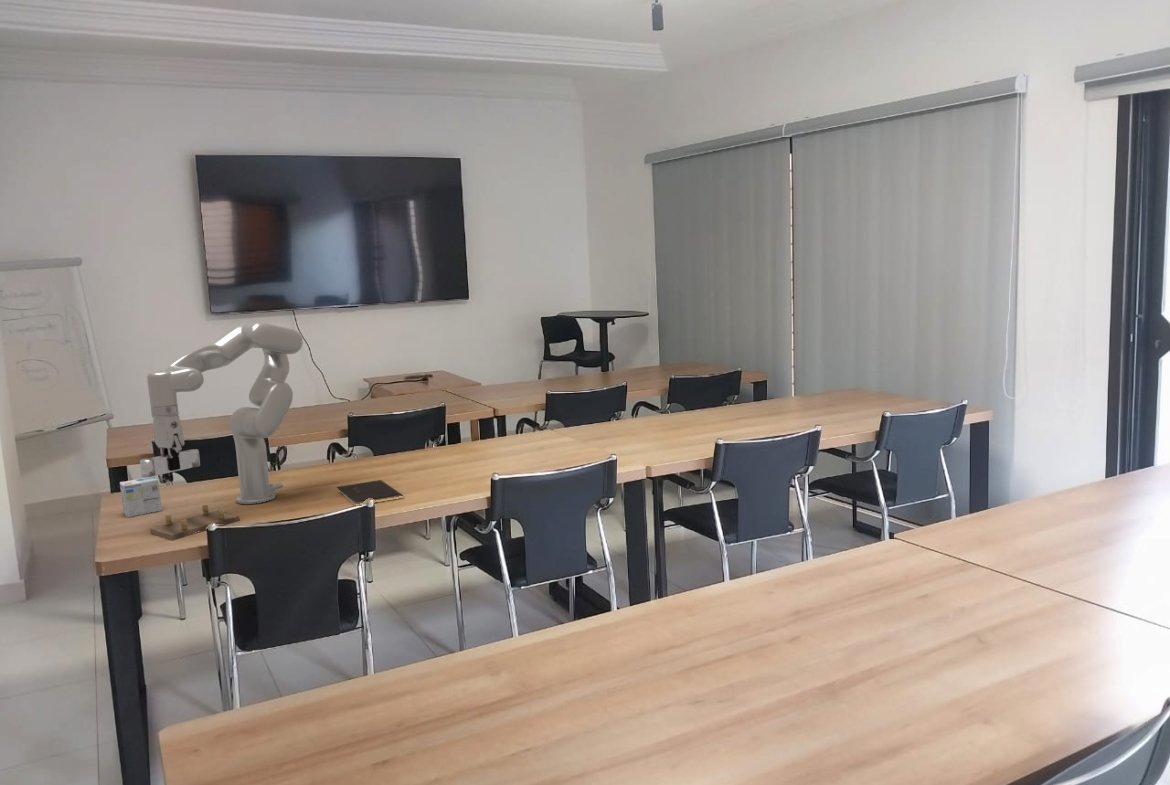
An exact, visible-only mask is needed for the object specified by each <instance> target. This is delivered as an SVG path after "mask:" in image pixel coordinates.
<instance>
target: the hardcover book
mask: <svg viewBox="0 0 1170 785" xmlns="http://www.w3.org/2000/svg"><path fill="white" fill-rule="evenodd" d="M336 489H337V490H338V492H339V491H340V492H341V493H342V494H343V495H344V496H345V497H346V498H345V497H344V496H343V495H342V494H341V493H340V494H341V495H342V496H343V497H344V498H345V499H346V500H348V499H349V500H350V501H351V502H352V504H353V503H354V504H360V503H363V502H364V501H365V500H366V499H368V498H373V499H374V500H375V501H376V500H381V499H387V498H394V497H399V496H403V494H402V493H401V492H399V491H398V490H397V489H395V488H394V487H392V486H391V485H389V483H386V482H385V481H383V480H381V479H378V480H373V481H367V482H366V481H365V482H360V483H355V484H354V483H352V484H346V485H341V486H336ZM403 497H404V496H403ZM349 500H348V501H349ZM350 501H349V502H350ZM351 502H350V503H351ZM354 504H353V505H354Z"/></svg>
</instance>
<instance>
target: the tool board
mask: <svg viewBox="0 0 1170 785" xmlns="http://www.w3.org/2000/svg"><path fill="white" fill-rule="evenodd" d="M164 517H165V524H163V525H160V526H155V527H152V528H150V534H151V535H153V534H154V536H157V537H160V538H163V537H164V539H166V538H167V539H166V540H170V541H174V540H178V539H180V538H184V536H185V537H187V536H186V535H188V536H190V535H189V534H191V535H194V534H193V533H195V532H198V531H202V532H204V531H203V530H205V529H206V527H207V526H208V525H209V524H211V523H216V524H225V525H228V524H232V523H235V522H238V521H241V518H240V515H238V514H234V513H231V512H226V511H224V508H219V509H217V510H213V511H210V510H209V505H208V504H205V505H202V514H199V515H196V516H192V517H189V518H185V519H184V518H183V519H180V520H178V521H174V522H173V519H172V515H171V514H167V515H165V516H164ZM205 531H206V530H205ZM198 533H199V532H198ZM195 534H196V533H195ZM173 539H174V540H173Z"/></svg>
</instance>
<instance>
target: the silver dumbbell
mask: <svg viewBox="0 0 1170 785" xmlns="http://www.w3.org/2000/svg"><path fill="white" fill-rule="evenodd" d="M179 455H180V456H179V461H180V469H178V470H174V471H170V470H169V462H168V458H169V454H168V455H163V456H161V455H159V456H158V455H157V456H153V457H148V458H141V459H140V460H139V464H140V472H141V477H142V478H147V477H153V476H154V477H155V476H160V475H164V474H170V473H172V472H173V473H174V472H179V471H183V470H187V469H192V468H197V467H200V466H201V459H200V451H199V449H197V448H196V449H195V448H193V449H187V450H183V451H180V453H179Z"/></svg>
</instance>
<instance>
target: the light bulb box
mask: <svg viewBox="0 0 1170 785" xmlns="http://www.w3.org/2000/svg"><path fill="white" fill-rule="evenodd" d="M119 489H120V496H121V500H122V509H123V510H122V511H123V514H124V516H126V517H127V518H130V517H131V518H133V517H136V516H141V515H146V513H147V514H151V512H152V513H156V511H157V512H162V511H163V508H162V500H161V493H160V491H161V490H160V485H159V479H158V478H156V477H155V476H153V477H142V478H136V479H131V480H126V481H120V482H119ZM161 510H162V511H161Z"/></svg>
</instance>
